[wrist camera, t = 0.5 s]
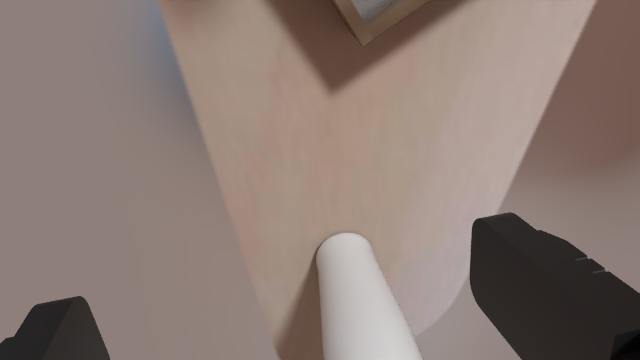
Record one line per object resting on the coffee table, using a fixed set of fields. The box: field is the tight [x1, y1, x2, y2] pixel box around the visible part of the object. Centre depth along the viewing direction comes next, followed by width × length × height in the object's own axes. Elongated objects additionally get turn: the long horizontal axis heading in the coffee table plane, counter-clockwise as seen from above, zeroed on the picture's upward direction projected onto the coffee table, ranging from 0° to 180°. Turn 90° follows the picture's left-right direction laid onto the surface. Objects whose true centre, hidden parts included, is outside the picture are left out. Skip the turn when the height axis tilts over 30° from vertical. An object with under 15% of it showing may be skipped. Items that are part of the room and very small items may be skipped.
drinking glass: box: [316, 233, 423, 360], centre depth 34 cm, size 7×7×15 cm
